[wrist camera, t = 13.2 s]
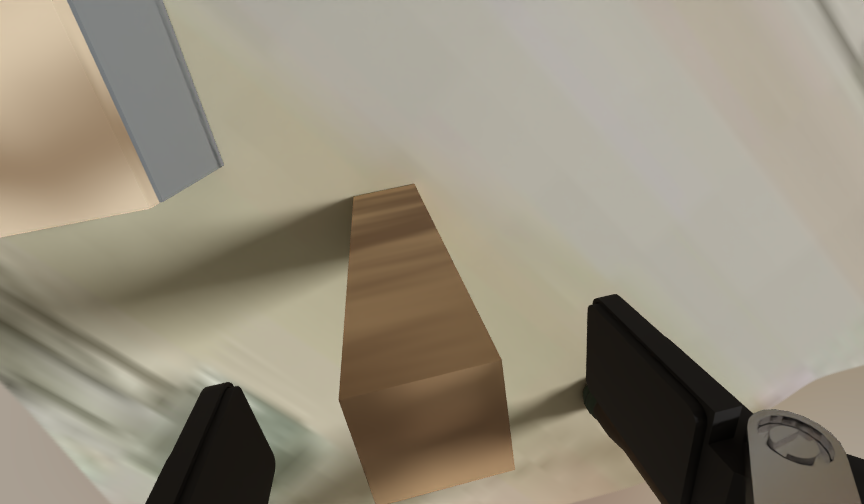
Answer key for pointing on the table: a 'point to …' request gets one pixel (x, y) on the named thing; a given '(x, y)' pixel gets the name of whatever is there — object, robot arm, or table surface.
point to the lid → (59, 127)
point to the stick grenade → (618, 439)
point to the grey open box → (150, 89)
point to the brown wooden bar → (416, 357)
